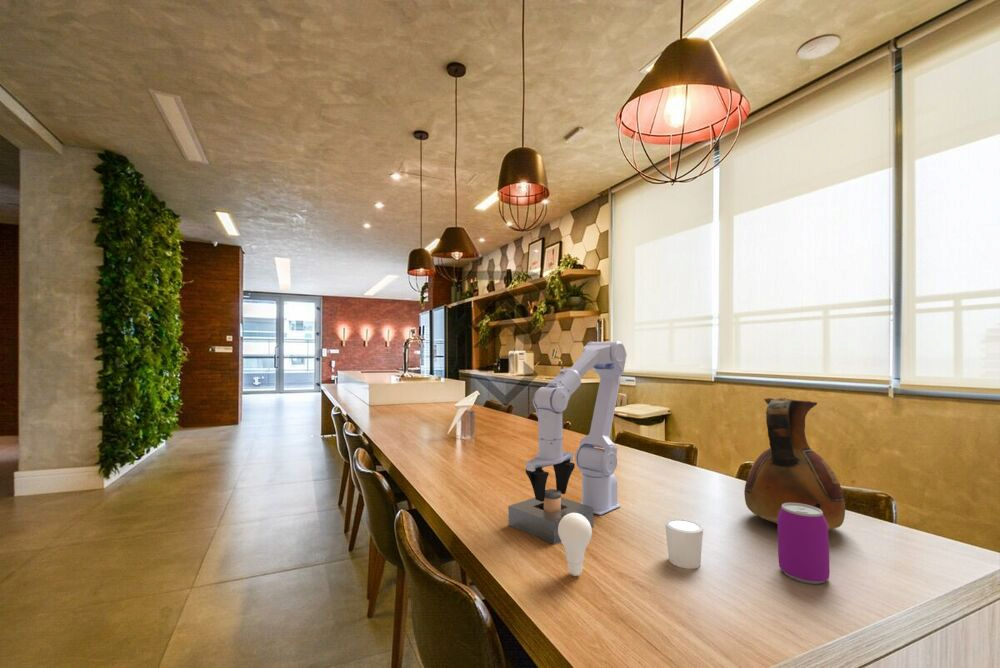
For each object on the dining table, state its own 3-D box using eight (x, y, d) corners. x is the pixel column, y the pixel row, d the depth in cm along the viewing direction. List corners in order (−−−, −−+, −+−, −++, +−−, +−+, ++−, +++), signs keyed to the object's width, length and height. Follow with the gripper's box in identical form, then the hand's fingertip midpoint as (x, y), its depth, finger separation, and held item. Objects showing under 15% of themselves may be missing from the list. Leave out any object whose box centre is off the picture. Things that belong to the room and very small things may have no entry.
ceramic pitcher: (850, 524, 104) (846, 397, 105) (840, 552, 89) (835, 404, 91) (757, 504, 117) (754, 392, 119) (735, 526, 103) (732, 397, 104)
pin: (554, 522, 105) (554, 488, 105) (564, 528, 101) (564, 493, 102) (540, 525, 103) (540, 490, 103) (549, 531, 99) (550, 495, 100)
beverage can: (777, 561, 85) (776, 498, 86) (826, 571, 81) (824, 505, 82) (779, 579, 78) (777, 510, 79) (833, 590, 75) (830, 519, 75)
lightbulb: (592, 585, 76) (591, 521, 76) (557, 582, 77) (556, 518, 78) (592, 568, 82) (591, 509, 82) (559, 565, 83) (559, 506, 84)
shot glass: (702, 556, 87) (701, 520, 87) (706, 572, 81) (705, 534, 81) (665, 551, 89) (664, 516, 90) (666, 566, 83) (665, 529, 83)
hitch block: (548, 511, 112) (547, 493, 112) (593, 527, 102) (593, 507, 102) (508, 525, 103) (508, 505, 103) (554, 544, 92) (553, 522, 93)
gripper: (557, 432, 111) (557, 486, 110) (516, 439, 101) (516, 499, 101) (579, 436, 106) (580, 492, 105) (539, 444, 96) (539, 507, 95)
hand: (550, 496), depth 103 cm, fingers open, 7 cm apart
